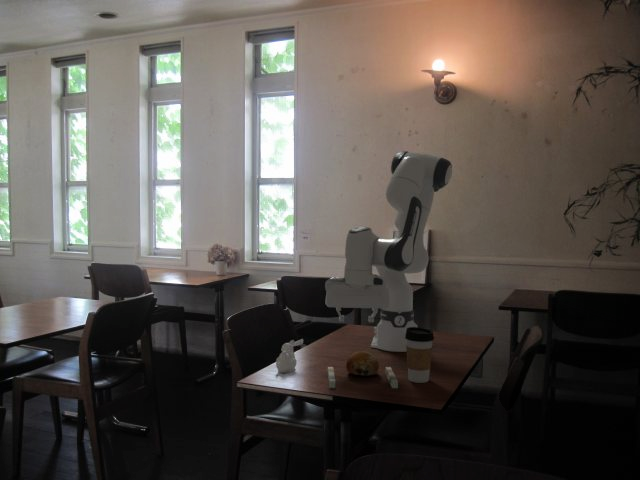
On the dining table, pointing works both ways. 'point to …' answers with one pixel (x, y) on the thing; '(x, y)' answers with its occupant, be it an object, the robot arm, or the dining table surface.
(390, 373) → the channel
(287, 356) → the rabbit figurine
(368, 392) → the dining table surface
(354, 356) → the bread roll
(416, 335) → the coffee cup
